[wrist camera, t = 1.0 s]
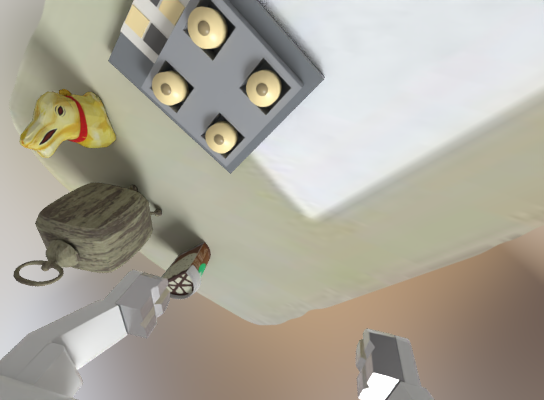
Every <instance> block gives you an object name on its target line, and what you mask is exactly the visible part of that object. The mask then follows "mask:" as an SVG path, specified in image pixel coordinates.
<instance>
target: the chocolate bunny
mask: <svg viewBox="0 0 544 400" xmlns="http://www.w3.org/2000/svg"><path fill="white" fill-rule="evenodd" d="M115 139H116V135H115V133H114V131H113V128H112V126H111V124H110V122H109V119H108V117H107V114H106V111H105V108H104V106H103V104H102V102H101V100H100V98H99V97H98V96H97V95H95V94H94V93H92V92H87V93H86V94H85V95H83V96H80V95H71V93H70V92H69V91H68V90H66V89H62V90H59V94H58V93H55V92H46V93H45V94H43V95H42V96H40V98H39V99H38V100H37V102H36V106H35V109H34V113H33V119H32V122H31V123H30V124H29V125H28V126H27V128H26V129H25V130H24V131H23V133H22V134H21V136H20V144H21V145H22V146H24V147H25V148H29V149H33V150H35V151H36V152H37V153H38V154H39V155H40V156H41V157H44V158H49V157H50V156H52V155H53V154H54V152H55V151H56V149H57V148H58V146H59V145H60V144H61V143H62V141H65V140H69V141H72V142H76V143H78V144H80V145H82V146H84V147H86V148H101V147H108V146H109V145H110V144H111V143H113V142H114V141H115Z"/></svg>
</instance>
